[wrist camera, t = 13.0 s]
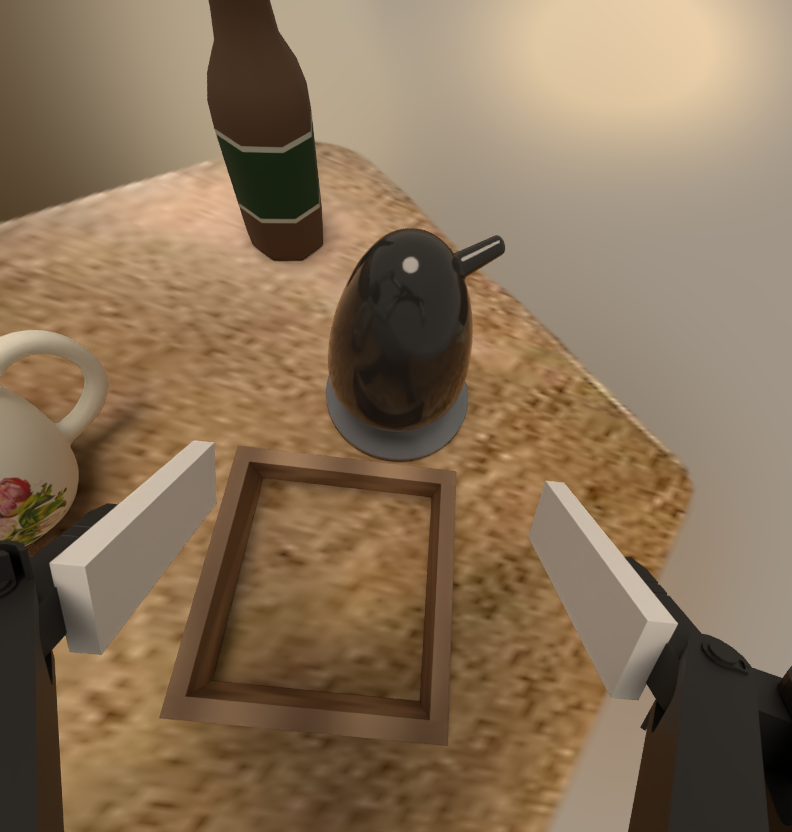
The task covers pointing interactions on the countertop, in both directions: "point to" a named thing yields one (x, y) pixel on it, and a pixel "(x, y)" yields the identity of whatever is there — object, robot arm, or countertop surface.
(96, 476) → the countertop surface
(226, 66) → the beer bottle
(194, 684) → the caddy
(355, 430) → the coaster
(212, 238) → the countertop surface
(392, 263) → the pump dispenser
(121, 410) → the countertop surface
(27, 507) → the pitcher
